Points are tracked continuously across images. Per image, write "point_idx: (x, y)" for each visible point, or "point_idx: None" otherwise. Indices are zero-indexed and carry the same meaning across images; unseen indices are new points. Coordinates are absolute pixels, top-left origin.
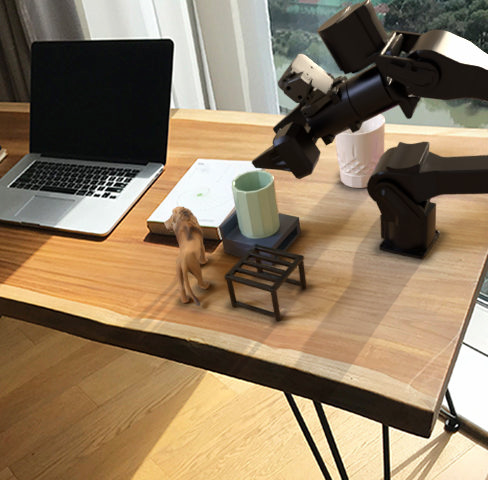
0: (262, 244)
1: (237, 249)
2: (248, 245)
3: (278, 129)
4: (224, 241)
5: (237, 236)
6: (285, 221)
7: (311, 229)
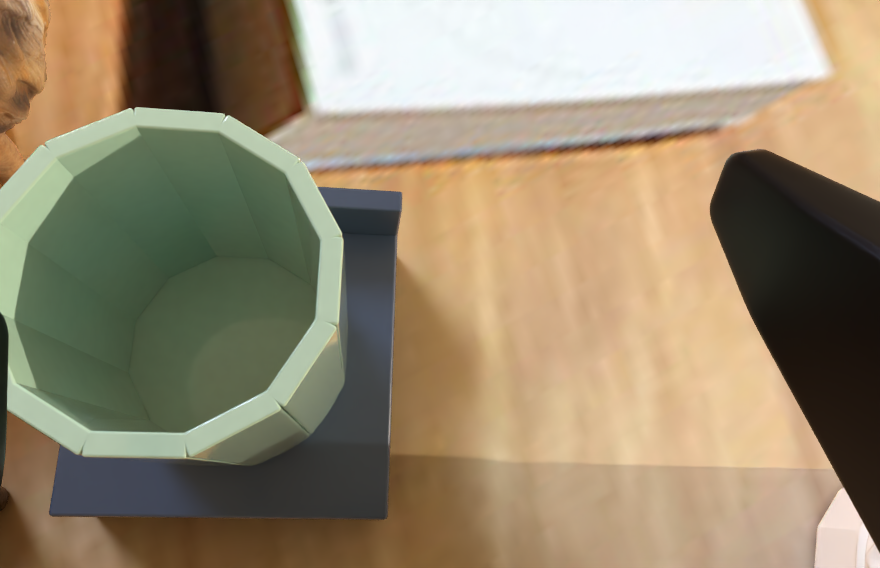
0: None
1: None
2: None
3: (747, 221)
4: None
5: None
6: (324, 464)
7: (429, 547)
